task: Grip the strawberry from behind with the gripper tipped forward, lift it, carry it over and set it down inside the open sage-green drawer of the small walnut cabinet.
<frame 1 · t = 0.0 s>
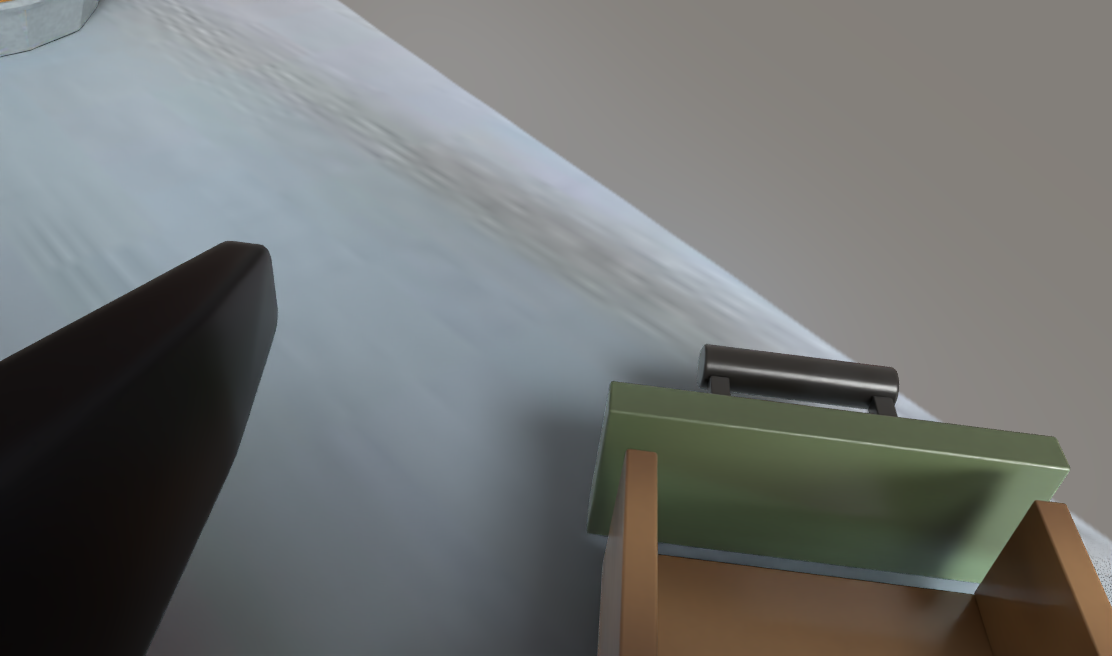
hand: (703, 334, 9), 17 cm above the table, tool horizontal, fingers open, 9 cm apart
drawer: (837, 644, 22), point 3 cm above the table, slide at 10.5 cm
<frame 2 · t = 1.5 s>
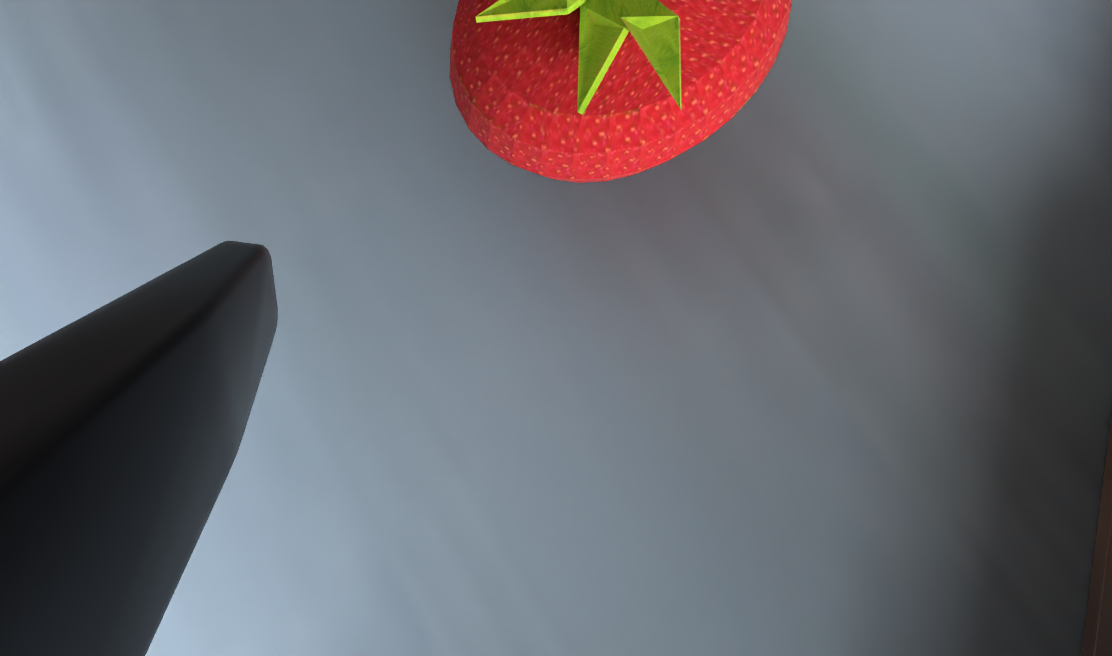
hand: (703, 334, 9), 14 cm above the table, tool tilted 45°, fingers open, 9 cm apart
strawberry: (614, 122, 24), on the table
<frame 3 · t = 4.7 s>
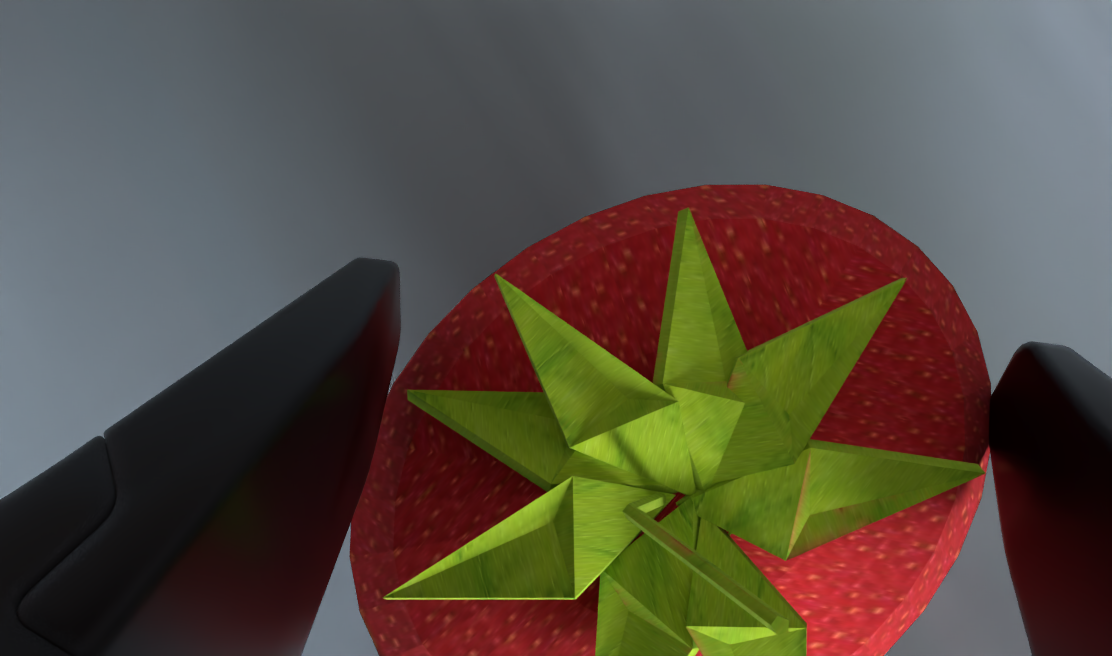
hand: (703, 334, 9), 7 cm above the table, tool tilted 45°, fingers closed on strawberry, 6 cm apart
strawberry: (625, 450, 16), on the table, touching gripper
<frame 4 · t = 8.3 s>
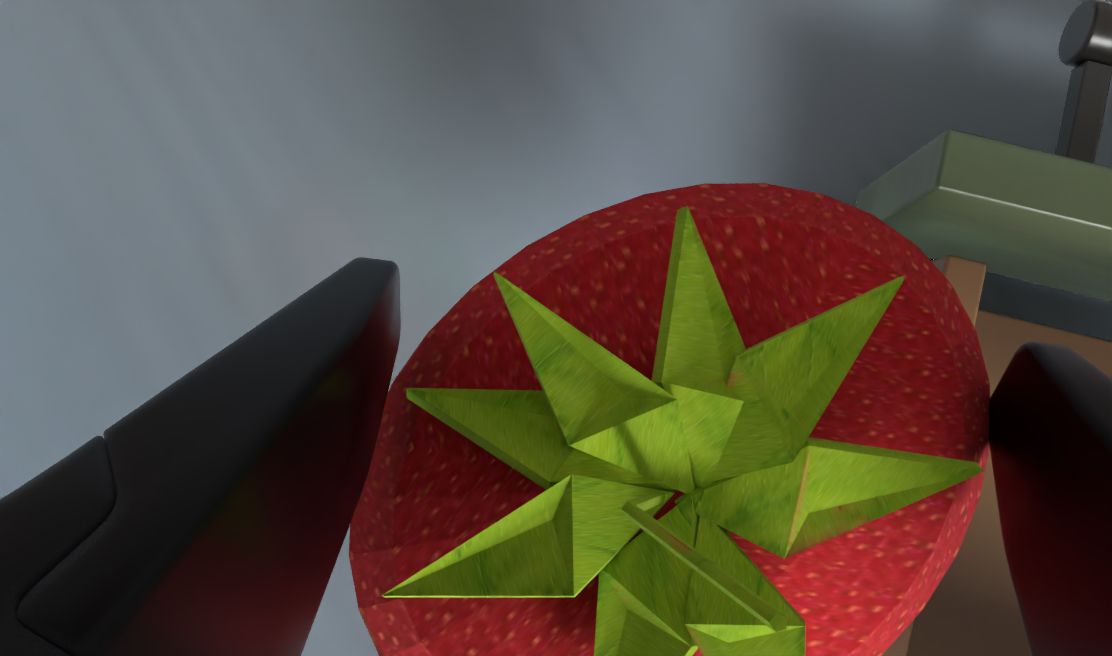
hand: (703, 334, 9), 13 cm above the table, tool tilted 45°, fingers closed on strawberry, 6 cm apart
strawberry: (625, 449, 16), point 6 cm above the table, touching gripper
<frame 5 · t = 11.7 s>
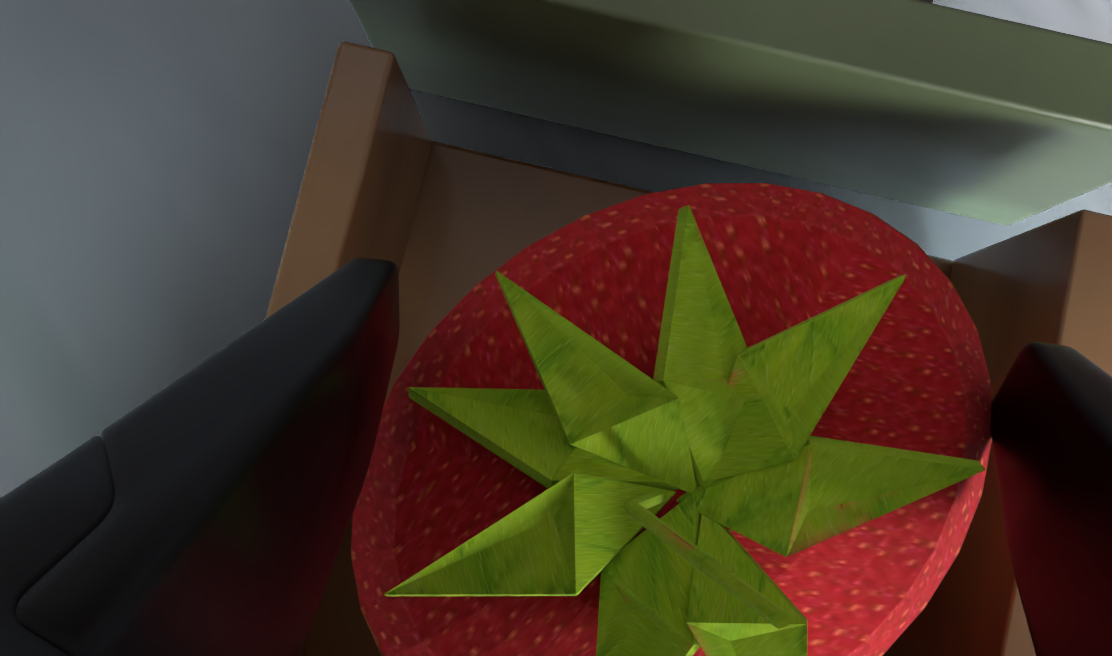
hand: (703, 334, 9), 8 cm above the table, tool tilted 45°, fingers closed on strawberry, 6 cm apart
strawberry: (626, 450, 16), point 2 cm above the table, touching drawer, gripper
drawer: (662, 370, 14), point 3 cm above the table, slide at 10.7 cm, touching strawberry
when the fingers open (8 cm above the table, at t = 11.8 s): strawberry stays where it is, resting on drawer.
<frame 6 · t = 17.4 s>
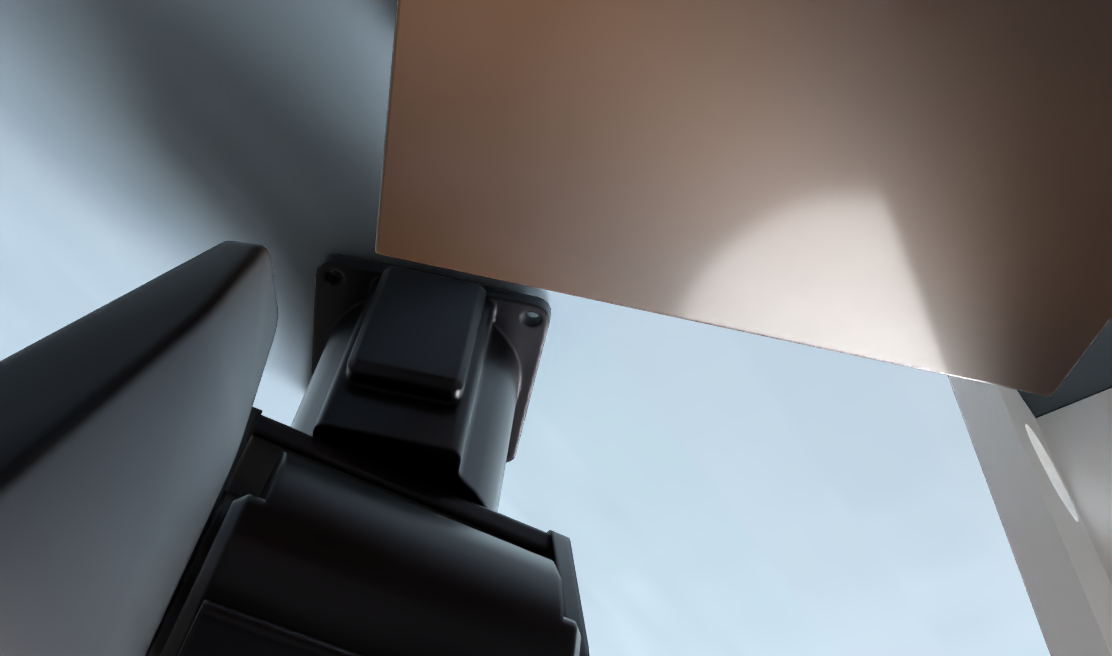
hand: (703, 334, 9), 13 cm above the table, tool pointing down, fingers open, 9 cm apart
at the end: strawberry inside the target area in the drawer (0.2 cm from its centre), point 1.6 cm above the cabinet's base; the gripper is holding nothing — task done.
